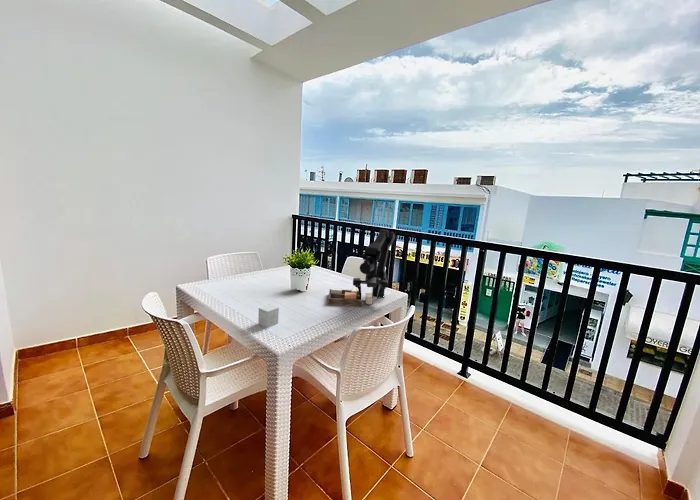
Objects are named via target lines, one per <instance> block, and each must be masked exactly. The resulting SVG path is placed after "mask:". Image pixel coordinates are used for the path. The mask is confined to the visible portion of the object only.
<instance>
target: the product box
mask: <svg viewBox="0 0 700 500" xmlns="http://www.w3.org/2000/svg"><path fill="white" fill-rule="evenodd" d="M279 309H280V308H279V307H277V306H275V305H272V304H271V303H270V304H266V305H263V306H260V307H258V318H257V319H258V325H261V326H263V327H265V328H267V329H268V328H271V327H273V326H275V325H277V324H279V314H280V312H279Z"/></svg>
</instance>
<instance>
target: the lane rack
mask: <svg viewBox="0 0 700 500" xmlns="http://www.w3.org/2000/svg"><path fill="white" fill-rule="evenodd" d="M351 290H352V289H342V294H334V293H331V288H330V289H329V293H328V297H327V305H330V306H350V307H363V302H362V300H363V299H362V294H361V298H360V294H359V290H357V295H356V300H355V299H345V292H351Z"/></svg>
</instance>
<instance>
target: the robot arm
mask: <svg viewBox="0 0 700 500" xmlns="http://www.w3.org/2000/svg"><path fill="white" fill-rule="evenodd" d="M378 231H379V232H378V234H377V236H376V237H375V240H374V241H373V243H370V244H368V246H367V247H366V248H365V250H364V253H363V257H362V260H363V262H362V263H361V264H360V265H359V271H360V272H361V273H362V274H363V275H365V280H363V279H361V277H354V278H352V285H353V286H354V288H357V291H359V294H360V298H361V299H362V296H361V295H362V285H366V287H367V288H372V290H371V291H372V292H371V294H372V297H373V296H374V297H373V298H376V299H377V300H378V299H379V298H384V297H385V291H386V290H385V289H387V288H389V282H388V280H387V274H386V266H387V261H388V256H389V251H390V248H391V246H393V244H394V241H395V239H396V234H395V233H394V232H393V231H389V230H387V229H379V230H378ZM383 296H384V297H383Z"/></svg>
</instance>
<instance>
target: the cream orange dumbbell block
mask: <svg viewBox="0 0 700 500" xmlns="http://www.w3.org/2000/svg"><path fill="white" fill-rule="evenodd" d="M364 298H365V299H364V300H363V299H361V300H362V303H365V304H366V305H372V303H373V295H372V292H370V293H367V292H366V293H365V297H364ZM345 299H355V300H356V293H352V292H345Z"/></svg>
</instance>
